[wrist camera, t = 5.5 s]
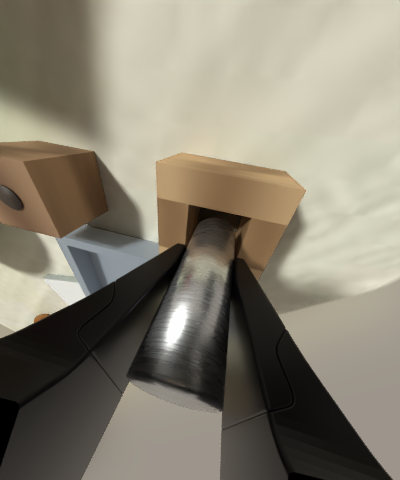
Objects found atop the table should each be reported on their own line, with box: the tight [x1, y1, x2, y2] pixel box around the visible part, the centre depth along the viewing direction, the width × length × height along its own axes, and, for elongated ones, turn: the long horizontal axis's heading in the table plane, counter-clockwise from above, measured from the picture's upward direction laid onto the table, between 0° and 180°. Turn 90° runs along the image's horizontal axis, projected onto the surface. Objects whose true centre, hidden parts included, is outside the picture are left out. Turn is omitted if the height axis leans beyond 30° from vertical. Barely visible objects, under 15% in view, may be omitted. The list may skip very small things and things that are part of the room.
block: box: [0, 141, 108, 239], centre depth 12 cm, size 5×5×5 cm
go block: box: [156, 153, 306, 281], centre depth 11 cm, size 7×7×4 cm
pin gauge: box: [126, 218, 235, 413], centre depth 7 cm, size 2×2×7 cm
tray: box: [55, 225, 159, 297], centre depth 19 cm, size 12×12×2 cm
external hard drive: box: [43, 274, 86, 305], centre depth 27 cm, size 2×8×12 cm
